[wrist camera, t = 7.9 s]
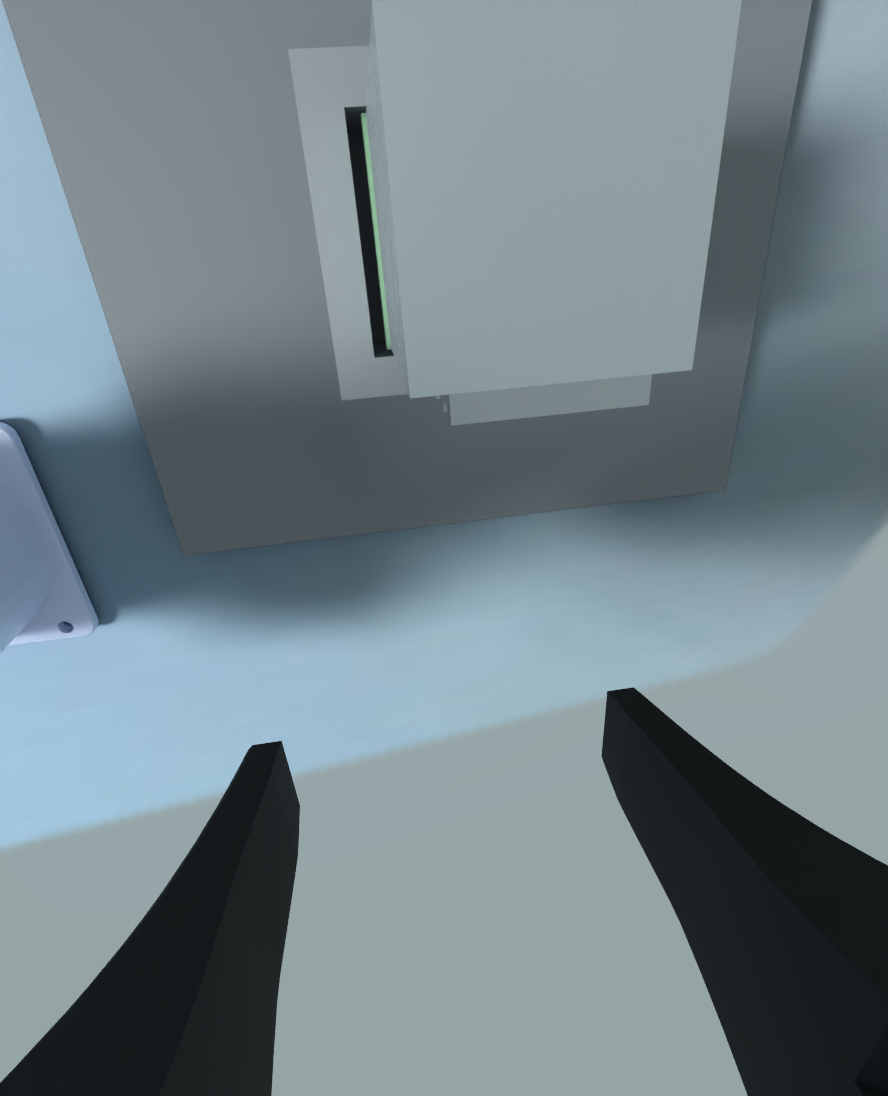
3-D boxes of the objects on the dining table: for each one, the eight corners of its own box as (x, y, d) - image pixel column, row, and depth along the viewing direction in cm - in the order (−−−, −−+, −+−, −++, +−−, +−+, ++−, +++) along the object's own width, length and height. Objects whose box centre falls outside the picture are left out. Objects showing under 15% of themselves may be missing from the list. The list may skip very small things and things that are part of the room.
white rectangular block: (387, 360, 15) (407, 432, 8) (360, 125, 12) (364, -10, 6) (556, 344, 15) (692, 401, 9) (561, 114, 13) (751, -23, 7)
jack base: (190, 543, 20) (152, 607, 17) (-45, -203, 12) (-232, -419, 8) (710, 481, 22) (783, 526, 18) (823, -207, 14) (1000, -385, 10)
